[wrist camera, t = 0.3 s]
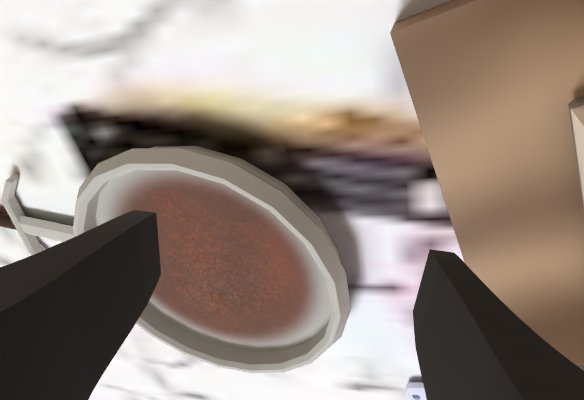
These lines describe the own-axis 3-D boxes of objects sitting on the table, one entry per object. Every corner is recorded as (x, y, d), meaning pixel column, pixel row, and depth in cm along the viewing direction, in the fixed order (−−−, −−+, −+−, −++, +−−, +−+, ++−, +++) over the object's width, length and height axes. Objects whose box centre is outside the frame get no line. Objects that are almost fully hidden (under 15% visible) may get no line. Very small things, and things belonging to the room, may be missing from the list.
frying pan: (-132, 109, 24) (356, 188, 17) (-82, 89, 27) (370, 151, 19) (-1, 305, 35) (340, 408, 27) (27, 279, 37) (349, 368, 29)
